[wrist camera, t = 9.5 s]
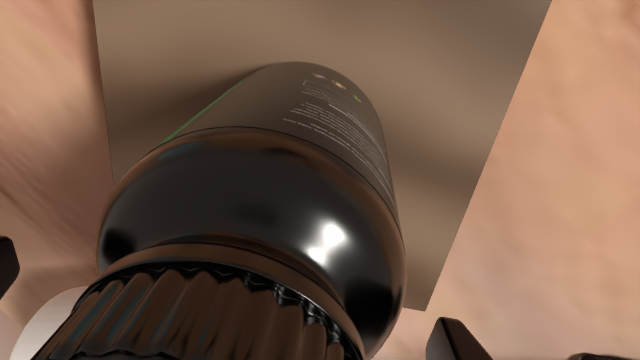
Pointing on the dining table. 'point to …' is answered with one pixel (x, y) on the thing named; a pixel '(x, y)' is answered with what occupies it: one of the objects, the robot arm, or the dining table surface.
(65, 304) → the mug
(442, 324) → the robot arm
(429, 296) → the walnut board
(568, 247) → the dining table surface
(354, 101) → the supplement bottle
